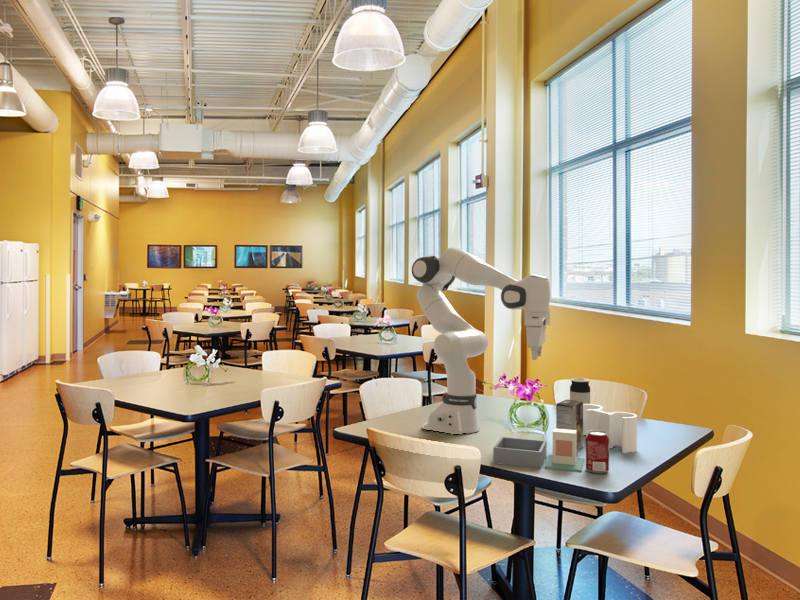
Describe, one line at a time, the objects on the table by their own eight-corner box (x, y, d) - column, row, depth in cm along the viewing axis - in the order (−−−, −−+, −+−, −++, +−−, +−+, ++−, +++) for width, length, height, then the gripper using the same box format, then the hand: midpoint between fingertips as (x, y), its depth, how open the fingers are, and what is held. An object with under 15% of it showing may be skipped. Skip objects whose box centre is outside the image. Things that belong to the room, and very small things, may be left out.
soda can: (608, 475, 177) (608, 436, 177) (584, 473, 180) (585, 434, 179) (609, 469, 183) (609, 430, 183) (586, 466, 186) (586, 428, 185)
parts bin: (493, 463, 190) (493, 447, 190) (501, 451, 203) (501, 436, 203) (541, 468, 184) (541, 452, 184) (546, 455, 198) (546, 440, 197)
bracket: (643, 450, 204) (643, 415, 204) (624, 454, 199) (625, 418, 199) (586, 434, 226) (587, 402, 225) (568, 437, 221) (569, 405, 220)
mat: (544, 468, 185) (544, 466, 185) (549, 456, 197) (549, 454, 197) (581, 471, 181) (581, 470, 181) (583, 459, 193) (583, 458, 193)
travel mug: (570, 424, 239) (571, 380, 239) (568, 420, 247) (569, 377, 247) (591, 425, 238) (591, 381, 237) (588, 421, 246) (588, 378, 245)
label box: (575, 465, 185) (575, 433, 185) (552, 462, 188) (552, 431, 188) (576, 461, 190) (576, 430, 189) (554, 458, 192) (554, 428, 192)
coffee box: (566, 443, 212) (566, 398, 212) (583, 446, 208) (583, 401, 207) (555, 449, 205) (555, 403, 204) (573, 452, 201) (573, 405, 200)
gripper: (532, 317, 223) (531, 353, 224) (523, 321, 204) (523, 361, 205) (549, 318, 221) (548, 354, 222) (542, 321, 202) (541, 362, 203)
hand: (536, 357), depth 213 cm, fingers open, 8 cm apart
